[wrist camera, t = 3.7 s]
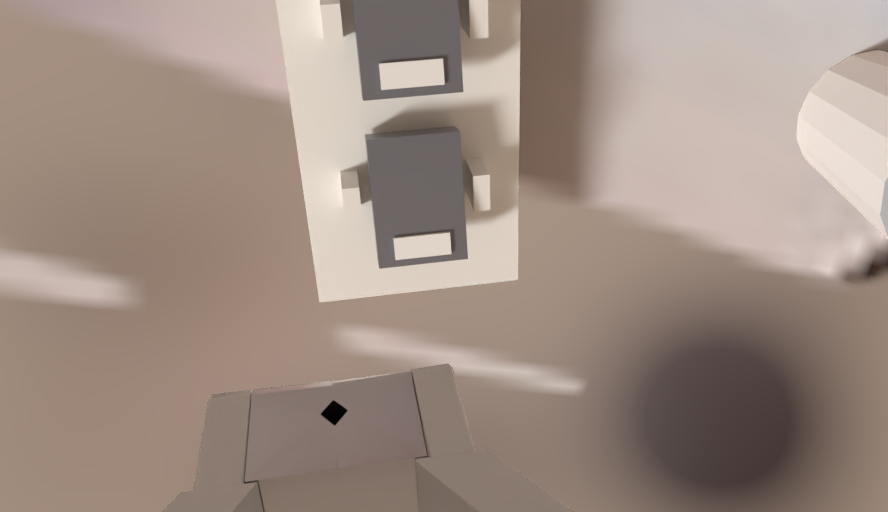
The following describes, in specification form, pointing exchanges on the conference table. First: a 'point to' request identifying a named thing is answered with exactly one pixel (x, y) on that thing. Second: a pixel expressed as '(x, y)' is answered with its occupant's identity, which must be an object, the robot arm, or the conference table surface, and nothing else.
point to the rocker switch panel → (349, 118)
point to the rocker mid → (408, 47)
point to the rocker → (417, 196)
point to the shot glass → (851, 132)
